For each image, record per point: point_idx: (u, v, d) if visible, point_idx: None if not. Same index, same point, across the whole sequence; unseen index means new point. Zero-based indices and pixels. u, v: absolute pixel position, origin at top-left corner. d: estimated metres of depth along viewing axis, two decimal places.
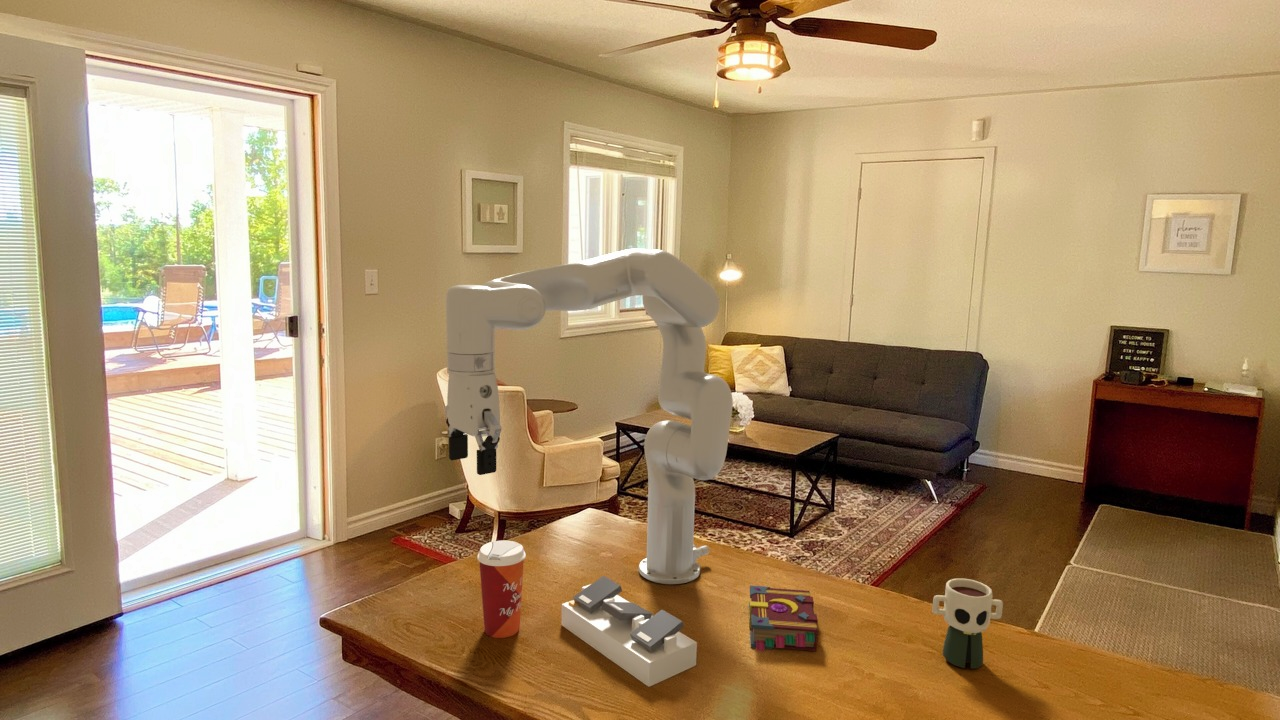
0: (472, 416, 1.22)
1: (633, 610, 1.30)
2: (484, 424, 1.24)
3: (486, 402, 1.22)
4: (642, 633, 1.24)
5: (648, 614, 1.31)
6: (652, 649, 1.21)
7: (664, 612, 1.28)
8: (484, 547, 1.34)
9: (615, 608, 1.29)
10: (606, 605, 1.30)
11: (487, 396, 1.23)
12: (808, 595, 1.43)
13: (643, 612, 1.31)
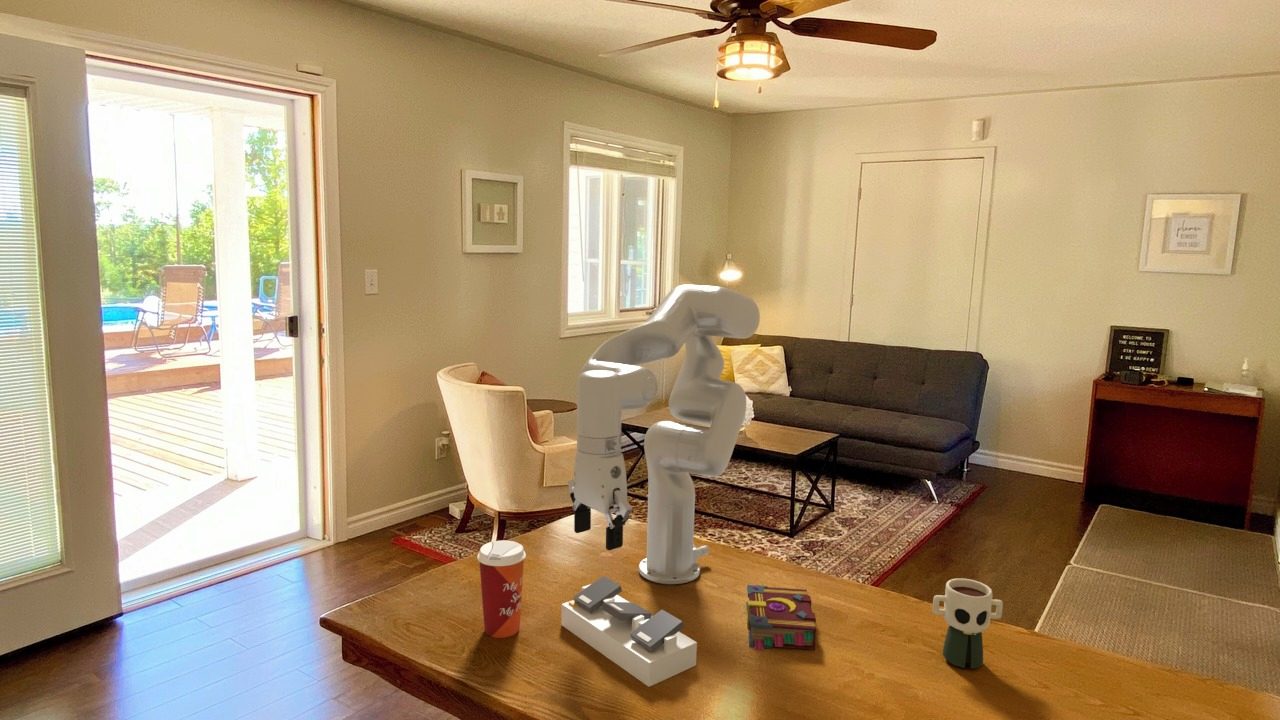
0: (603, 495, 1.30)
1: (633, 610, 1.30)
2: (612, 501, 1.32)
3: (616, 482, 1.30)
4: (642, 633, 1.24)
5: (648, 614, 1.31)
6: (652, 649, 1.21)
7: (664, 612, 1.28)
8: (484, 547, 1.34)
9: (615, 608, 1.29)
10: (606, 605, 1.30)
11: (616, 476, 1.31)
12: (805, 594, 1.43)
13: (643, 612, 1.31)
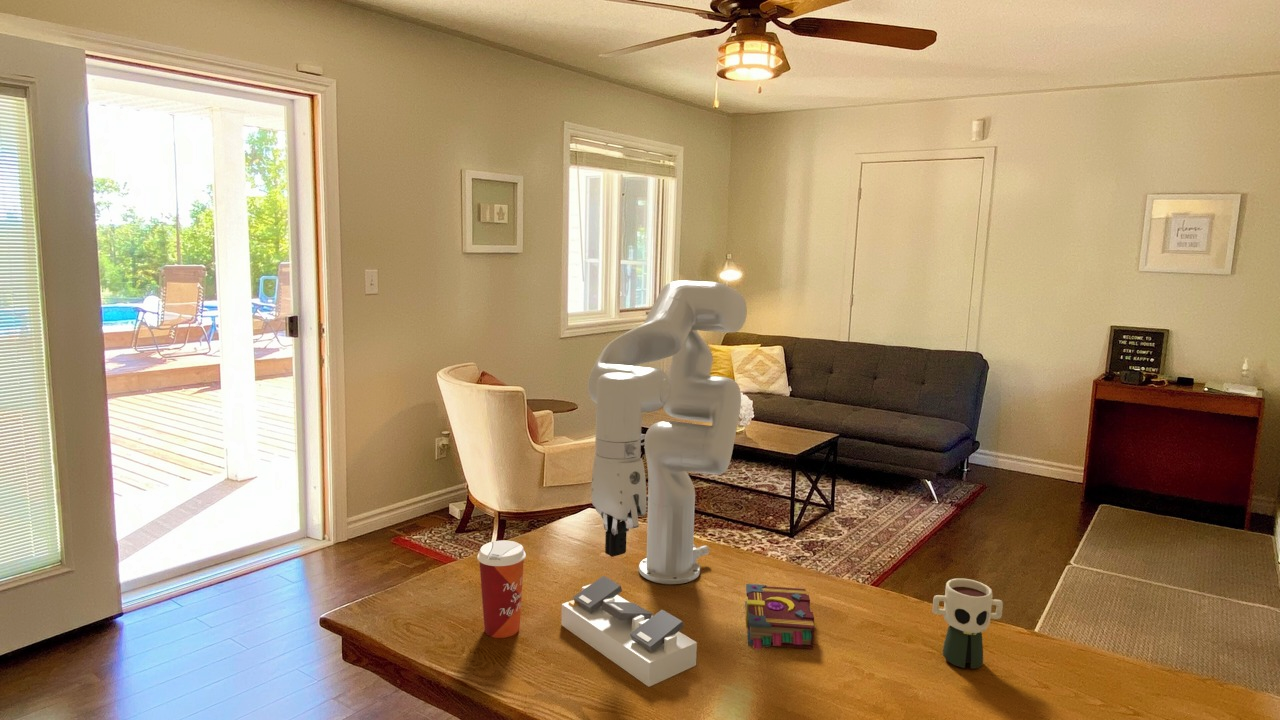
0: (622, 502, 1.25)
1: (633, 610, 1.30)
2: None
3: (635, 488, 1.26)
4: (642, 633, 1.24)
5: (648, 614, 1.31)
6: (652, 649, 1.21)
7: (664, 612, 1.28)
8: (484, 547, 1.34)
9: (615, 608, 1.29)
10: (606, 605, 1.30)
11: (635, 482, 1.26)
12: (804, 593, 1.44)
13: (643, 612, 1.31)
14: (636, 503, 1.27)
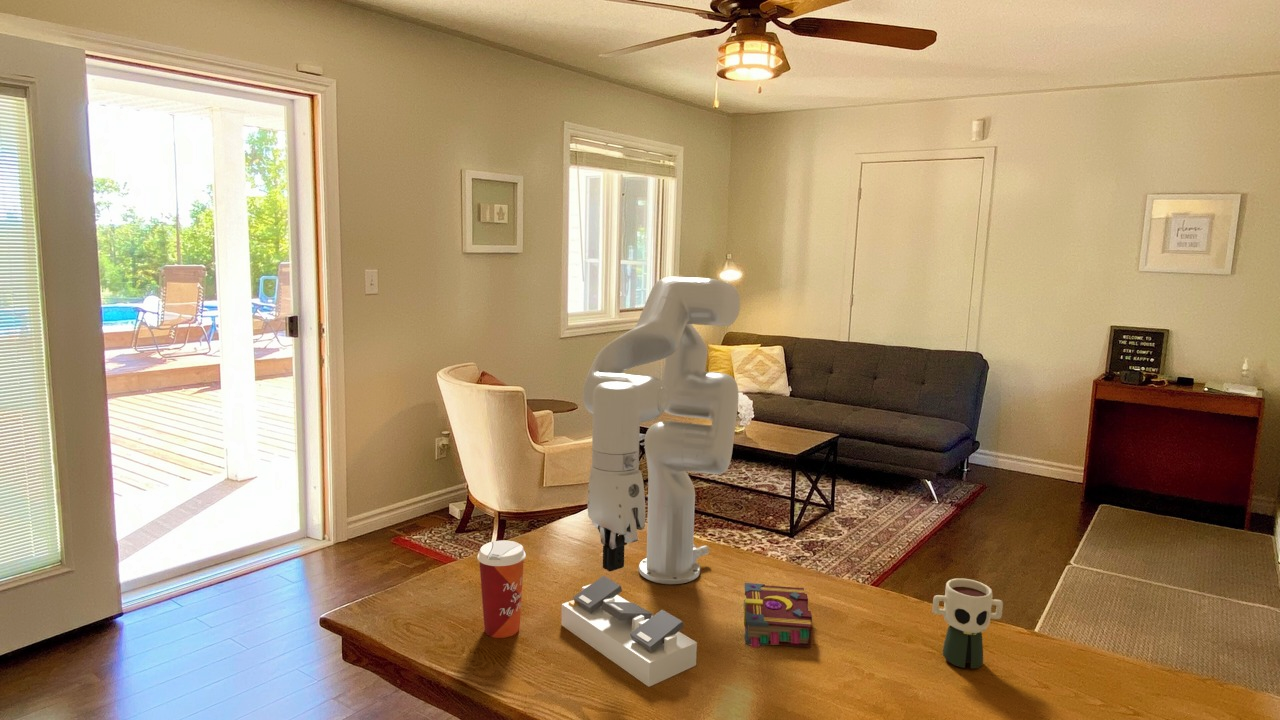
0: (621, 515, 1.21)
1: (633, 610, 1.30)
2: None
3: (634, 501, 1.22)
4: (642, 633, 1.24)
5: (648, 614, 1.31)
6: (652, 649, 1.21)
7: (664, 612, 1.28)
8: (484, 547, 1.34)
9: (615, 608, 1.29)
10: (606, 605, 1.30)
11: (634, 495, 1.23)
12: (802, 592, 1.44)
13: (643, 612, 1.31)
14: (635, 516, 1.23)
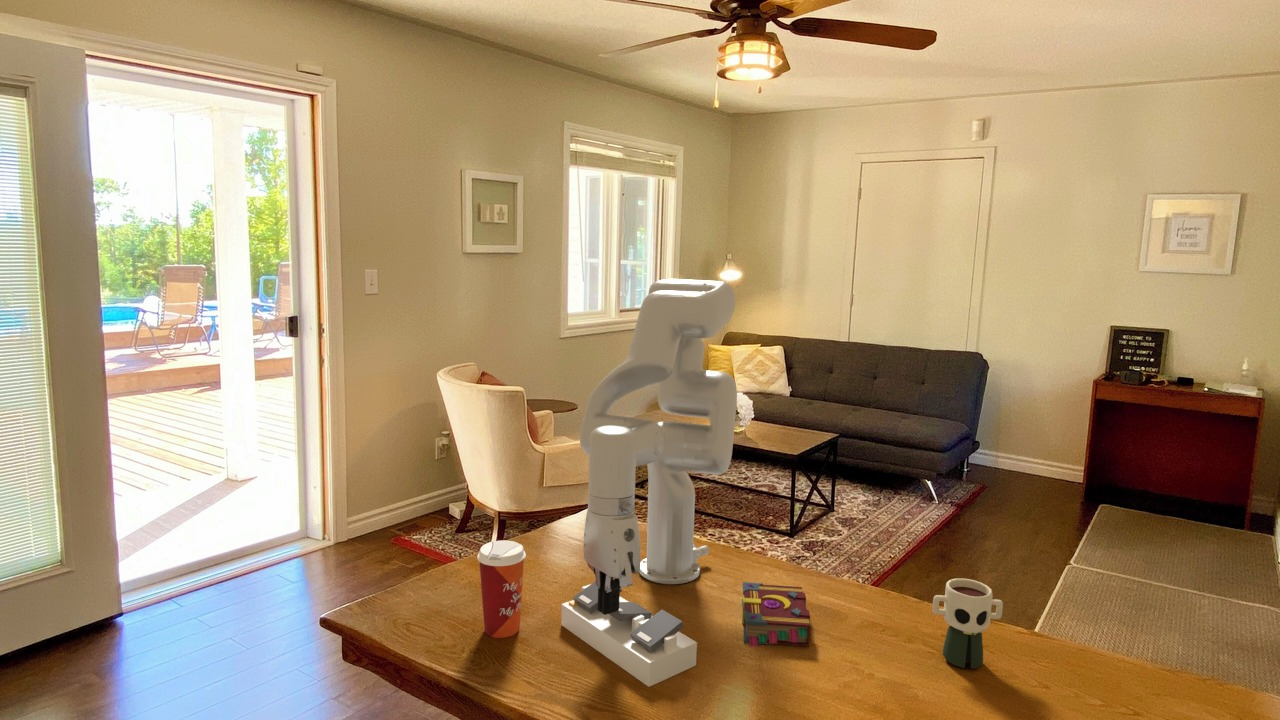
0: (615, 560, 1.22)
1: (633, 610, 1.30)
2: None
3: (629, 546, 1.23)
4: (642, 633, 1.24)
5: (648, 613, 1.31)
6: (652, 649, 1.21)
7: (664, 612, 1.28)
8: (484, 547, 1.34)
9: None
10: None
11: (629, 539, 1.23)
12: (800, 591, 1.44)
13: (643, 612, 1.31)
14: (630, 560, 1.24)
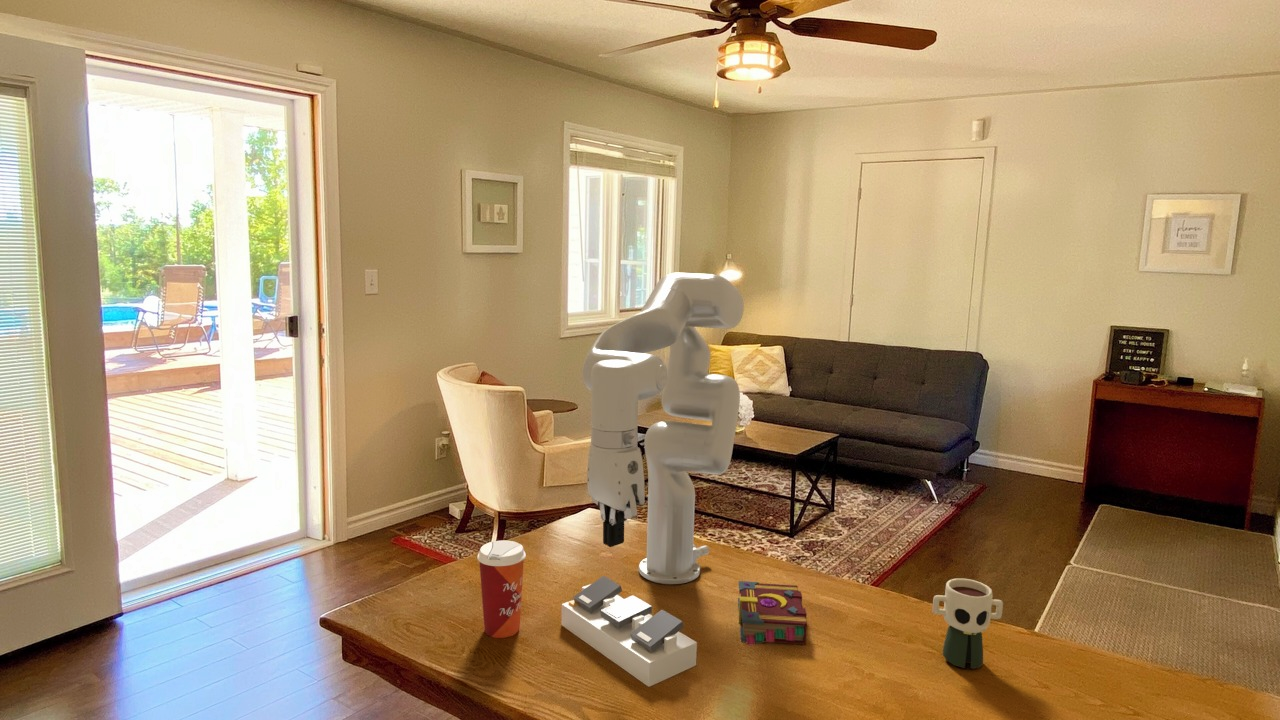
0: (620, 492, 1.23)
1: (631, 610, 1.30)
2: None
3: (633, 478, 1.23)
4: (642, 633, 1.24)
5: (647, 608, 1.31)
6: (652, 649, 1.21)
7: (664, 612, 1.28)
8: (484, 547, 1.34)
9: (612, 616, 1.29)
10: (604, 613, 1.30)
11: (633, 471, 1.24)
12: (796, 590, 1.45)
13: (642, 608, 1.31)
14: (634, 493, 1.25)
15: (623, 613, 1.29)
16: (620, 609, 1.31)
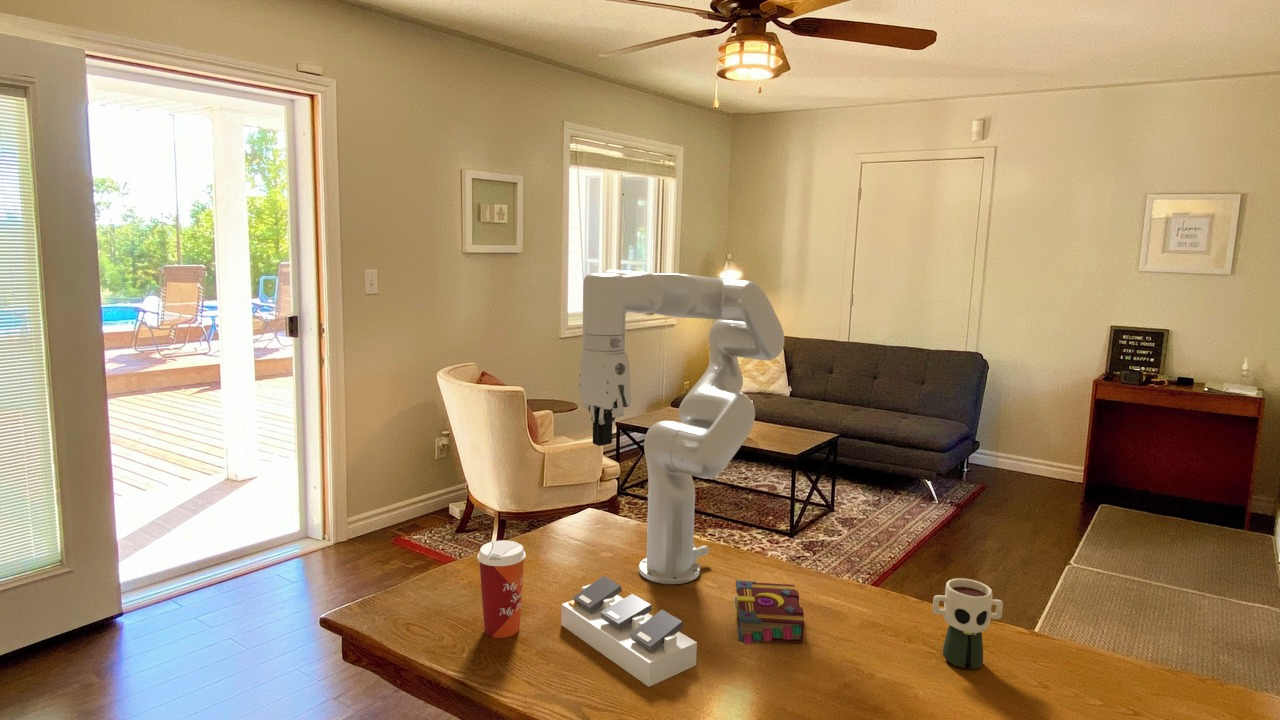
0: (608, 391, 1.35)
1: (631, 610, 1.30)
2: None
3: (620, 379, 1.35)
4: (642, 633, 1.24)
5: (647, 607, 1.31)
6: (652, 649, 1.21)
7: (664, 612, 1.28)
8: (484, 547, 1.34)
9: (612, 618, 1.29)
10: (604, 615, 1.30)
11: (620, 373, 1.36)
12: (793, 589, 1.45)
13: (641, 607, 1.31)
14: (621, 393, 1.36)
15: (623, 614, 1.29)
16: (620, 610, 1.31)
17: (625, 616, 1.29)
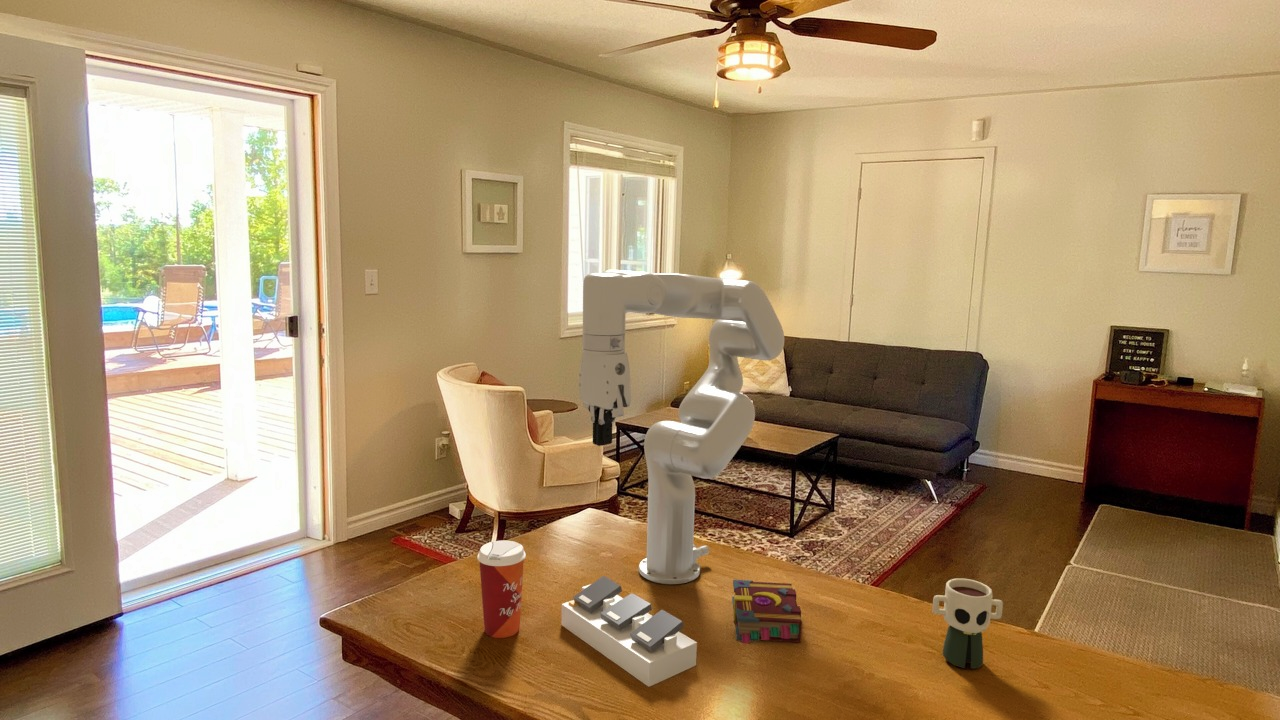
0: (608, 391, 1.35)
1: (631, 610, 1.30)
2: None
3: (620, 379, 1.35)
4: (642, 633, 1.24)
5: (647, 607, 1.31)
6: (652, 649, 1.21)
7: (664, 612, 1.28)
8: (484, 547, 1.34)
9: (612, 618, 1.29)
10: (604, 616, 1.30)
11: (620, 373, 1.36)
12: (790, 588, 1.46)
13: (641, 607, 1.30)
14: (621, 393, 1.36)
15: (623, 614, 1.29)
16: (620, 610, 1.31)
17: (625, 616, 1.29)
